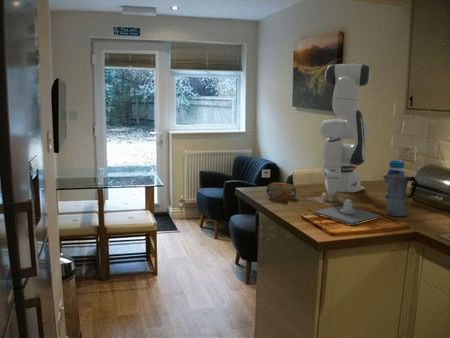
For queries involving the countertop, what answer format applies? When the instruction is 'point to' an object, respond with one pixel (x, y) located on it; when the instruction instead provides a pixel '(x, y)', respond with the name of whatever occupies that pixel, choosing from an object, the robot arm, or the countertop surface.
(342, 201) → the stand
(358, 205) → the countertop surface
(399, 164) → the beverage bottle
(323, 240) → the countertop surface
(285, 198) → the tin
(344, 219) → the plate
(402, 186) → the moka pot
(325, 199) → the tan square frame
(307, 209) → the countertop surface
